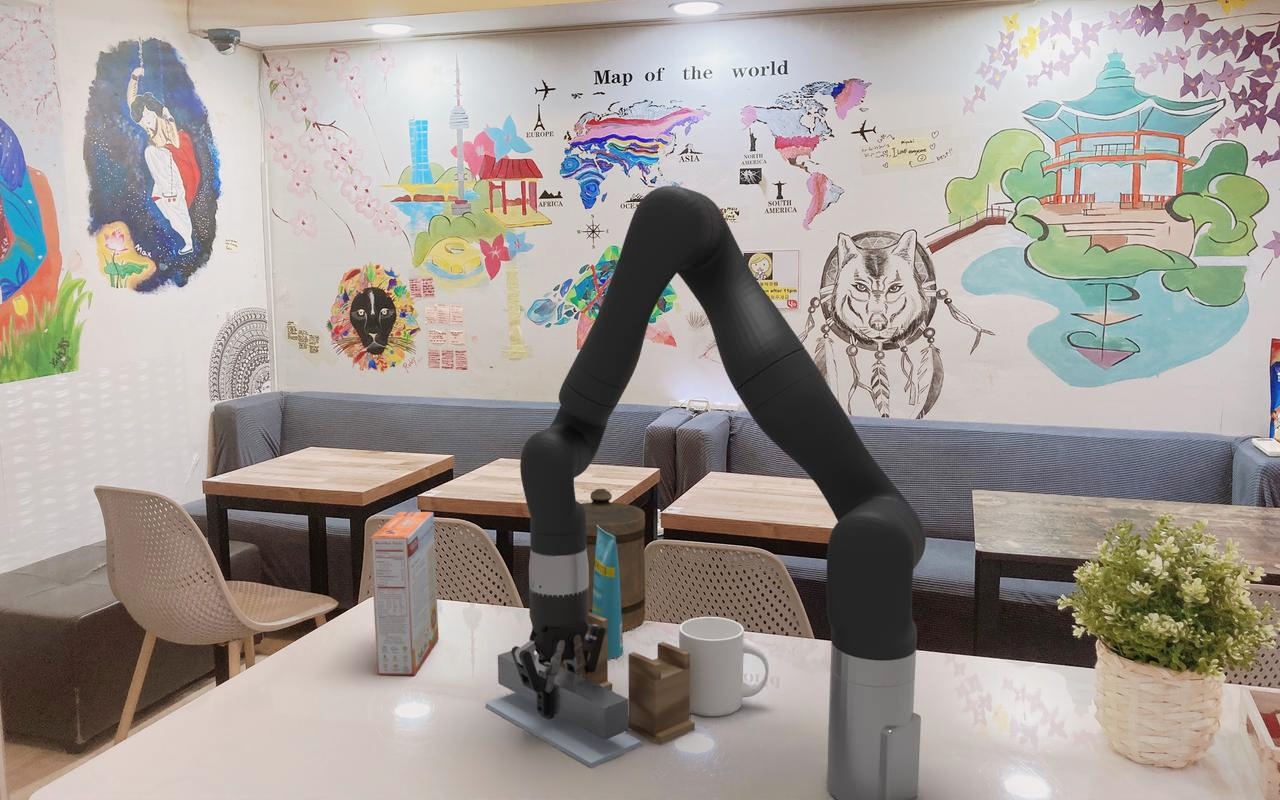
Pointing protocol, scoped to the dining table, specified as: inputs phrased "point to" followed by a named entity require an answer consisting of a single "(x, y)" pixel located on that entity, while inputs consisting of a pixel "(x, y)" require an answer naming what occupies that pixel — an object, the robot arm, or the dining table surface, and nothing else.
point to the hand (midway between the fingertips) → (560, 711)
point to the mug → (718, 664)
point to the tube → (608, 590)
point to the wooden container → (619, 551)
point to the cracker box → (404, 592)
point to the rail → (574, 699)
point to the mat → (562, 731)
